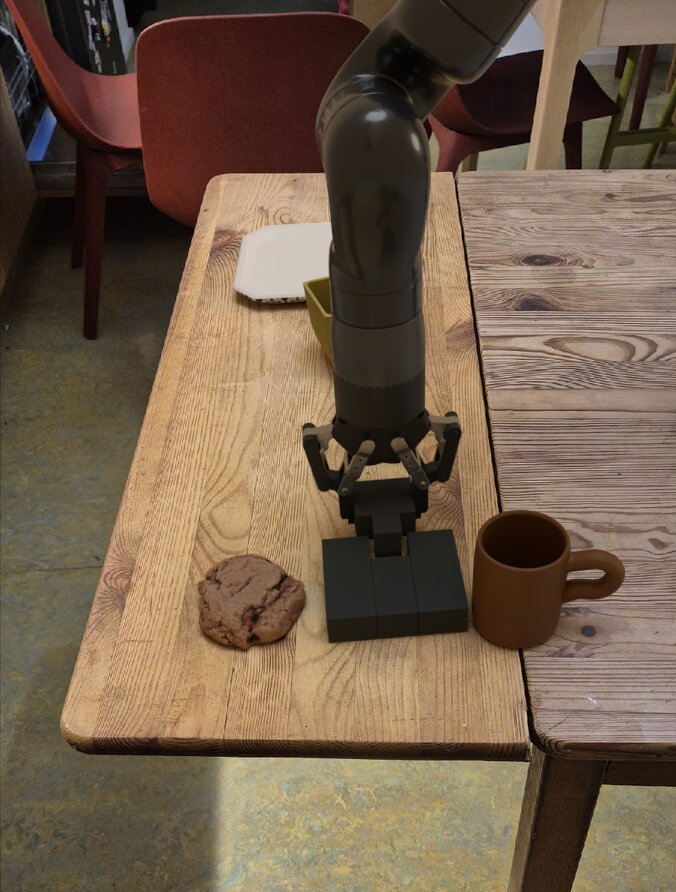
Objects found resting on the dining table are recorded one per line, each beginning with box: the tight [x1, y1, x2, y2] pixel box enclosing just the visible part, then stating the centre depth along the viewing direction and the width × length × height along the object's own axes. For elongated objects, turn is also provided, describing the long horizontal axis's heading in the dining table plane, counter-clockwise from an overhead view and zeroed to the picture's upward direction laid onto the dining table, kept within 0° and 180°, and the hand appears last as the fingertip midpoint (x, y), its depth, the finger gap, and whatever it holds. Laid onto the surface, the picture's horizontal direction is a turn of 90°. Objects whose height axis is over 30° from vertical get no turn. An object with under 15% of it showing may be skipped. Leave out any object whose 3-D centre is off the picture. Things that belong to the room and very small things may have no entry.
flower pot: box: [303, 276, 332, 363], centre depth 107 cm, size 9×9×9 cm
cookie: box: [197, 553, 307, 650], centre depth 82 cm, size 10×11×3 cm
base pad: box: [321, 528, 470, 644], centre depth 82 cm, size 12×10×3 cm
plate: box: [232, 221, 332, 305], centre depth 125 cm, size 21×21×2 cm
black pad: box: [353, 476, 417, 558], centre depth 85 cm, size 6×8×3 cm
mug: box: [471, 509, 626, 649], centre depth 76 cm, size 12×8×9 cm, turn 73°
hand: (384, 515), depth 86 cm, fingers closed on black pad, 5 cm apart
